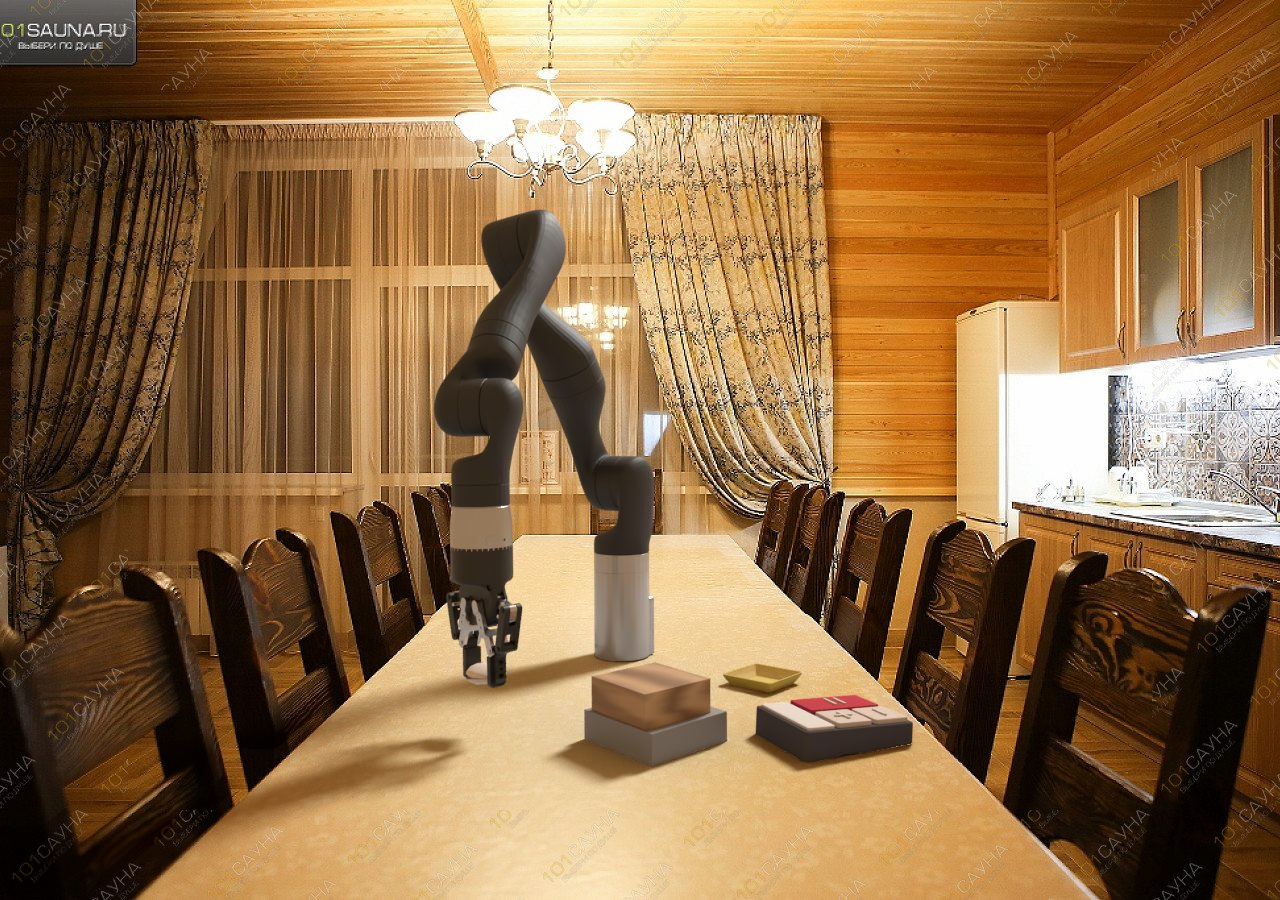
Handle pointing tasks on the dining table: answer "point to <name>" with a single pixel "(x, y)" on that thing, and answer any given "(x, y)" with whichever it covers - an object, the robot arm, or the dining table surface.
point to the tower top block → (650, 695)
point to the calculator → (831, 727)
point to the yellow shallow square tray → (762, 677)
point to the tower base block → (656, 736)
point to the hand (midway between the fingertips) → (484, 680)
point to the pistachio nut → (477, 674)
